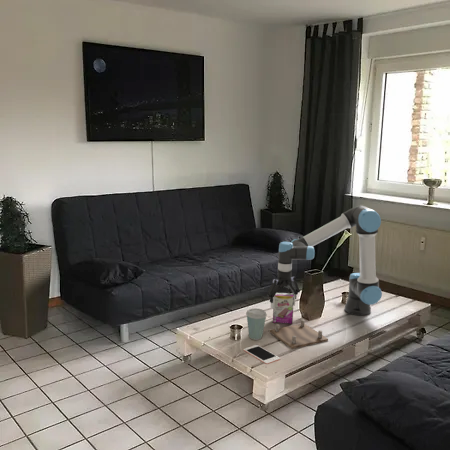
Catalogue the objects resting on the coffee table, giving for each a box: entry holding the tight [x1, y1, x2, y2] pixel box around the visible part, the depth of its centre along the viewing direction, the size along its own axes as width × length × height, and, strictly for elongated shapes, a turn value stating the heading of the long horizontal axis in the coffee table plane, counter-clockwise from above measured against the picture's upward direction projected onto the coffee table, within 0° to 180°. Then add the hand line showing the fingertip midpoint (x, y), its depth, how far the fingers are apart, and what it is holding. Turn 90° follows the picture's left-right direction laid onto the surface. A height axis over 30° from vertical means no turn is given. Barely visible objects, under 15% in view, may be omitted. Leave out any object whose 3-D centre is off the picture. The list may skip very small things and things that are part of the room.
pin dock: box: [269, 319, 329, 350], centre depth 263 cm, size 22×22×5 cm
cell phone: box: [243, 344, 281, 365], centre depth 243 cm, size 9×18×1 cm, turn 36°
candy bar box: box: [272, 292, 294, 324], centre depth 280 cm, size 11×5×16 cm, turn 84°
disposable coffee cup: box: [245, 308, 268, 341], centre depth 260 cm, size 11×11×15 cm
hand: (282, 306), depth 280 cm, fingers open, 13 cm apart
